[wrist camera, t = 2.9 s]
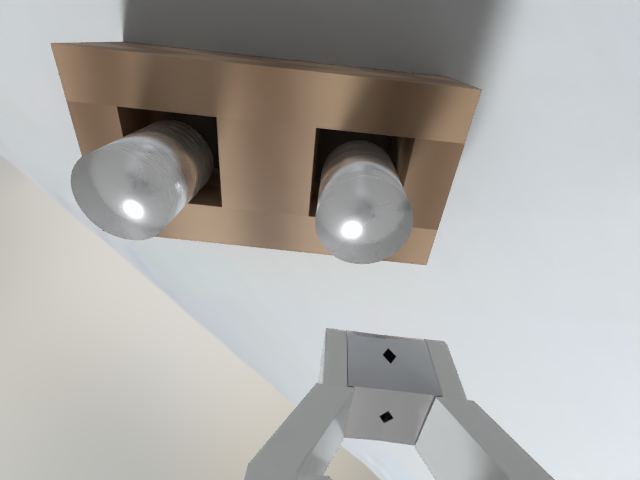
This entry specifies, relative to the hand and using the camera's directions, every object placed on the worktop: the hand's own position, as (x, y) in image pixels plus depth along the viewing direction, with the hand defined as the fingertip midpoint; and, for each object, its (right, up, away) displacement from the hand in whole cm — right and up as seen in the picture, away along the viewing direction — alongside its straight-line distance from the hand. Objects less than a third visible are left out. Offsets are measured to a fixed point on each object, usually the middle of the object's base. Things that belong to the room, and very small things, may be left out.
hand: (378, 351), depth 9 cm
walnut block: (-4, +10, +15) cm, 18 cm away
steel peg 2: (+1, +7, +10) cm, 12 cm away
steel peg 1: (-9, +8, +10) cm, 16 cm away
